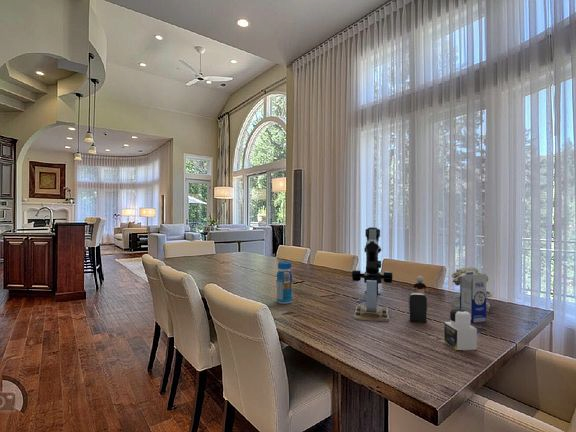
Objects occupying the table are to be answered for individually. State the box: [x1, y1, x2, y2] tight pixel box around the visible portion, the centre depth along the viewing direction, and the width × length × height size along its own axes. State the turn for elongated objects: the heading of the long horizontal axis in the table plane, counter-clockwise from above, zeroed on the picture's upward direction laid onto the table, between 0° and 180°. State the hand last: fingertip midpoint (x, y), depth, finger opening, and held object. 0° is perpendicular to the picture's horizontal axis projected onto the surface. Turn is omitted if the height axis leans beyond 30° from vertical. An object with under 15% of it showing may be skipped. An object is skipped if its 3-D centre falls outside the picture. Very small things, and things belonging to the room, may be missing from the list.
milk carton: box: [459, 272, 487, 324], centre depth 131 cm, size 7×7×20 cm
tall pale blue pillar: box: [365, 280, 378, 312], centre depth 140 cm, size 5×4×13 cm
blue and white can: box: [275, 260, 294, 305], centre depth 159 cm, size 8×8×20 cm
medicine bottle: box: [443, 308, 478, 351], centre depth 106 cm, size 7×7×12 cm
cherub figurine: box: [449, 266, 493, 312], centre depth 153 cm, size 18×18×18 cm
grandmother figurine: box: [411, 275, 429, 296], centre depth 160 cm, size 8×4×13 cm, turn 84°
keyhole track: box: [353, 304, 390, 323], centre depth 138 cm, size 16×14×3 cm
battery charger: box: [408, 292, 428, 323], centre depth 130 cm, size 7×4×11 cm, turn 79°
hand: (371, 291), depth 146 cm, fingers closed
